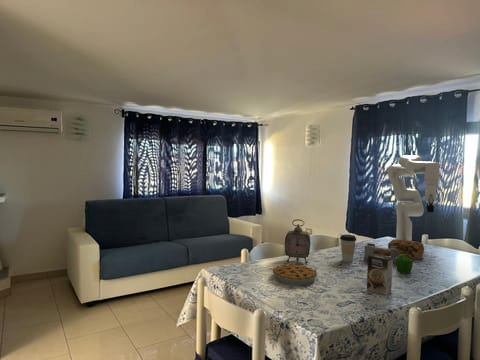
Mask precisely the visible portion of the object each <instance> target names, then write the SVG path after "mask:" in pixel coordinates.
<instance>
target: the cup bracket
mask: <svg viewBox="0 0 480 360" xmlns="http://www.w3.org/2000/svg"><path fill="white" fill-rule="evenodd" d="M374 247H376V243H371V242H365V245H364V250H363V251H364V253H363V256H364V257H363V261H364V262H368V255H371V254H374Z"/></svg>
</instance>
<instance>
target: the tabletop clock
mask: <svg viewBox="0 0 480 360" xmlns="http://www.w3.org/2000/svg"><path fill="white" fill-rule="evenodd" d="M297 221H300V222H302V223H303V224H301V225H300V224H299V223H297V225H296V224H294V222H297ZM291 222H292V223H291V224H292V225H293V226H294V229H293V230H288V231H287V233H286V235H285V238H284V253H285V255H286V256H287V257H288V258H286V262H287V263H289V262H290V259H291V258H293V259H294V258H295V260H296V261H297V262H298V261H299V260H300V259H304V263H305V264H308V263H309V262H308V260H307V259H306V258H308V257H309V256H310V253H311V252H310V251H311V235H310V233H309V232H308V231H305V230H303V228H302V227H303V226H304V225H305V221H303V220H302V219H297V218H296V219H293V220H292V221H291Z"/></svg>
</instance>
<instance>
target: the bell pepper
mask: <svg viewBox="0 0 480 360" xmlns="http://www.w3.org/2000/svg"><path fill="white" fill-rule="evenodd" d="M399 255H400V256H398V257H396V265H395V268H396V271H397V273H400V274H407V275H408V274H410V273H411V272H412V269H413V263H414V261H413V260H414V259H410V258H407V257H405V256H404V255H403V254H399ZM401 256H403V257H401Z"/></svg>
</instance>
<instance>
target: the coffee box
mask: <svg viewBox="0 0 480 360" xmlns="http://www.w3.org/2000/svg"><path fill="white" fill-rule="evenodd" d="M393 266H394V265H393V257H390V256H383V255H379V254H371V255H368V261H367V272H366V273H367V275H366V276H367V277H366V278H367V279H366V291H370V292H372V293H375V294H379V293H380V295H382V294H383V296H388V295H390V294H391V293H392V285H393V283H392V282H393V281H392V280H393ZM387 294H388V295H387Z"/></svg>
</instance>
